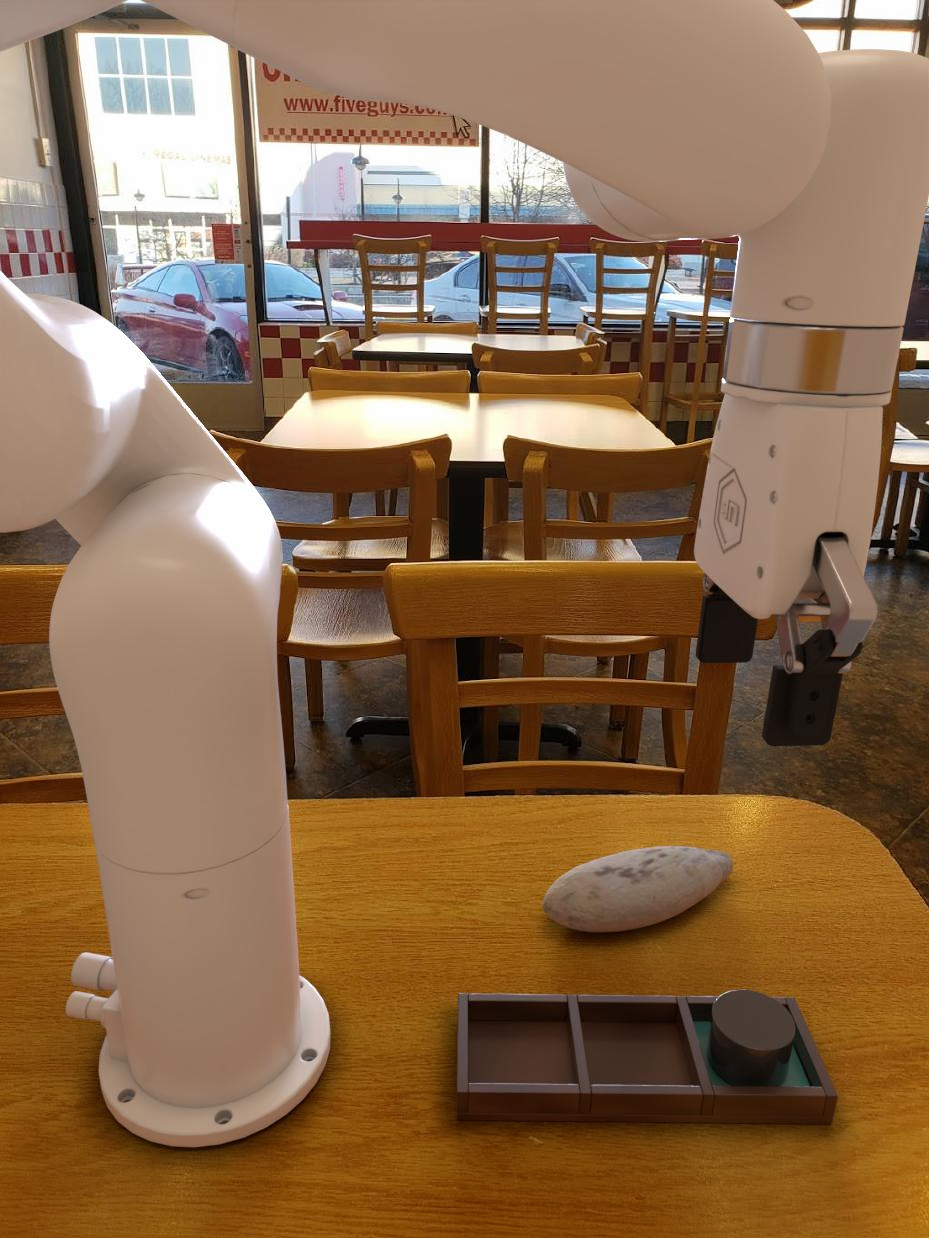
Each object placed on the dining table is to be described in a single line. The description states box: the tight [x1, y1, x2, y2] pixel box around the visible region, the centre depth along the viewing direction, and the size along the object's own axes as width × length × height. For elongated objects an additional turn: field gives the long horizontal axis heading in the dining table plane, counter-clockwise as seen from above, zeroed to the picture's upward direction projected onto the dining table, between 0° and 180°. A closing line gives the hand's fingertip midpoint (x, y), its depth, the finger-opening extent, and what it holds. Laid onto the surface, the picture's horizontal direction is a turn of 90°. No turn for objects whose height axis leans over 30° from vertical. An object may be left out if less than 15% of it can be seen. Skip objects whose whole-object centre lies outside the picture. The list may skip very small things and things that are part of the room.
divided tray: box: [455, 992, 839, 1125], centre depth 52 cm, size 20×7×2 cm, turn 90°
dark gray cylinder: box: [706, 989, 795, 1087], centre depth 52 cm, size 4×4×3 cm
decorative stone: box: [541, 845, 734, 933], centre depth 65 cm, size 6×16×3 cm, turn 117°
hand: (755, 698), depth 50 cm, fingers open, 9 cm apart
